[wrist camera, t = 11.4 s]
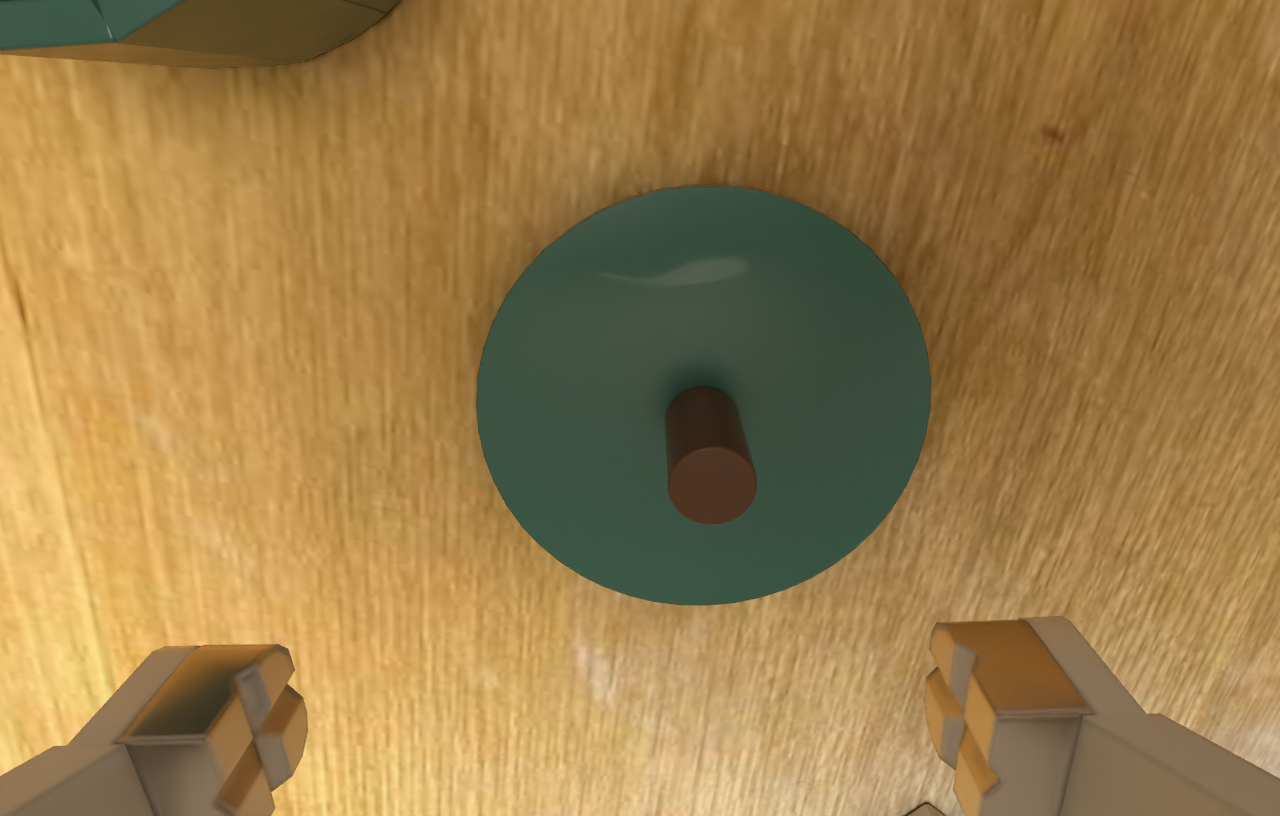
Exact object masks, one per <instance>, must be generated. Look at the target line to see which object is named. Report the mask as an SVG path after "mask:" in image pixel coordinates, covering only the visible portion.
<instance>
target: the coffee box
mask: <svg viewBox="0 0 1280 816" xmlns="http://www.w3.org/2000/svg"><path fill="white" fill-rule="evenodd" d="M908 816H944V815H943V814H941V813H940V812H939V811H938V810H936V809H935V808H933V807H932V806H930V805H929V804H925V805H923V806H921V807H920V808H918V809H917V810H915V811H914V812H913V813H911V814H910V815H908Z"/></svg>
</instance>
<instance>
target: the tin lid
mask: <svg viewBox="0 0 1280 816" xmlns="http://www.w3.org/2000/svg"><path fill="white" fill-rule="evenodd" d="M930 396H931V377H930V369H929V361H928V353H927V349H926V345H925V342H924V338H923V335H922V331H921V327H920V324H919V322H918V320H917V317H916V315H915V313H914V311H913V308H912V306H911V304H910V302H909V299H908V297H907V296H906V294H905V293H904V291H903V290H902V288H901V286H900V285H899V283H898V282H897V280H896V279H895V277H894V275H893V274H892V273H891V271H890V270H889V269H888V268H887V267H886V266H885V264H884V263H883V262H882V261H881V260H880V259H879V258H878V256H877V255H876V254H875V253H874V252H873V251H872V250H871V249H870V248H869V247H868V246H867V245H865V244H864V243H863V242H862V241H861V240H860V239H858V238H857V237H856V236H855V235H854V234H853V233H851V232H850V231H849V230H848V229H846V228H845V227H843V226H842V225H840V224H838V223H837V222H835V221H834V220H832V219H830V218H829V217H827V216H826V215H824V214H822V213H821V212H819V211H817V210H815V209H813V208H811V207H808V206H806V205H804V204H802V203H799V202H797V201H795V200H793V199H790V198H787V197H784V196H780V195H777V194H773V193H770V192H766V191H763V190H760V189H753V188H746V187H739V186H732V185H698V184H693V185H686V186H678V187H670V188H663V189H658V190H655V191H651V192H647V193H643V194H640V195H636V196H632V197H629V198H627V199H624V200H622V201H620V202H617V203H615V204H612V205H610V206H608V207H605V208H603V209H601V210H599V211H597V212H595V213H594V214H592V215H590V216H588V217H587V218H585V219H583V220H582V221H580V222H578V223H577V224H575V225H573V226H572V227H570V228H569V229H568V230H567V231H565V232H564V233H563V234H562V235H560V236H559V237H558V238H557V239H555V240H554V241H553V242H552V243H550V244H549V245H548V246H547V247H546V248H545V249H544V250H543V251H542V252H541V253H540V254H539V255H538V256H537V257H536V258H535V259H534V260H533V261H532V263H531V264H530V265H529V266H528V267H527V268H526V269H525V270H524V272H523V273H522V275H521V276H520V277H519V279H518V280H517V282H516V283H515V284H514V286H513V287H512V289H511V290H510V291H509V293H508V294H507V296H506V298H505V299H504V301H503V303H502V305H501V307H500V309H499V311H498V313H497V315H496V317H495V319H494V320H493V323H492V326H491V328H490V331H489V334H488V337H487V340H486V342H485V345H484V348H483V353H482V358H481V363H480V368H479V373H478V380H477V398H476V408H477V420H478V431H479V435H480V440H481V444H482V449H483V453H484V457H485V460H486V462H487V465H488V468H489V470H490V473H491V476H492V478H493V481H494V483H495V485H496V487H497V489H498V490H499V492H500V494H501V496H502V498H503V500H504V501H505V503H506V505H507V506H508V508H509V509H510V511H511V512H512V513H513V515H514V516H515V517H516V519H517V520H518V522H519V523H520V524H521V526H522V527H523V528H524V529H525V530H526V531H527V532H528V533H529V534H530V535H531V536H532V538H533V539H534V540H535V541H536V542H537V543H538V544H539V545H540V546H541V547H543V548H544V549H545V550H546V551H547V552H549V553H550V554H551V555H552V556H553V557H555V558H556V559H557V560H558V561H559V562H561V563H562V564H564V565H566V566H567V567H569V568H570V569H572V570H573V571H575V572H576V573H578V574H580V575H581V576H583V577H585V578H587V579H589V580H591V581H593V582H595V583H597V584H599V585H601V586H604V587H606V588H609V589H611V590H614V591H617V592H620V593H623V594H626V595H628V596H632V597H636V598H640V599H645V600H649V601H653V602H660V603H668V604H676V605H718V604H728V603H736V602H741V601H746V600H751V599H756V598H760V597H764V596H767V595H770V594H773V593H776V592H779V591H782V590H785V589H788V588H790V587H792V586H794V585H797V584H799V583H801V582H803V581H806V580H808V579H810V578H812V577H814V576H815V575H817V574H819V573H820V572H822V571H824V570H825V569H827V568H829V567H831V566H832V565H834V564H835V563H837V562H838V561H839V560H841V559H842V558H843V557H845V556H846V555H847V554H849V553H850V552H851V551H852V550H854V549H855V548H856V547H857V546H858V545H859V544H860V543H861V542H862V541H864V540H865V539H866V538H867V537H868V536H869V535H870V534H871V533H872V532H873V531H874V530H875V529H876V528H877V526H878V525H879V524H880V523H881V521H882V520H883V519H884V518H885V517H886V515H887V514H888V513H889V512H890V511H891V509H892V508H893V506H894V505H895V503H896V501H897V500H898V498H899V497H900V495H901V494H902V492H903V490H904V489H905V487H906V485H907V483H908V481H909V479H910V477H911V475H912V473H913V470H914V468H915V466H916V464H917V462H918V459H919V455H920V452H921V449H922V446H923V443H924V439H925V436H926V431H927V425H928V419H929V412H930Z"/></svg>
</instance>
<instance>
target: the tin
mask: <svg viewBox="0 0 1280 816" xmlns="http://www.w3.org/2000/svg"><path fill="white" fill-rule="evenodd" d="M399 1H400V0H0V54H3V55H18V56H33V57H47V58H62V59H77V60H92V61H106V62H121V63H136V64H151V65H166V66H180V67H195V68H210V69H214V68H229V67H243V66H271V65H278V64H287V63H301V62H303V61H308V60H310V59H311V58H313V57H315V56H317V55H320V54H323V53H326V52H328V51H330V50H332V49H334V48H336V47H338V46H340V45H342V44H344V43H346V42H348V41H350V40H352V39H354V38H355V37H357V36H358V35H359V34H361V33H362V32H364V31H365V30H367V29H368V28H370V27H371V26H372V25H374V24H375V23H377V22H378V21H379V20H380V19H381V18H382V17H383V16H384V15H385V14H386V13H387V12H388V11H389V10H390V9H391V8H393V7H394V6H395V5H396V4H397V3H398V2H399Z"/></svg>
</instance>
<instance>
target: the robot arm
mask: <svg viewBox="0 0 1280 816" xmlns="http://www.w3.org/2000/svg"><path fill="white" fill-rule="evenodd" d="M929 649H930V651H931V653H932V655H933V657H934V659H935V661H936V663H937V665H938V666H937V667H936V668H935V669H934V670H933V671H932V672H931V673H930V674H929V675H928V676H927V677H926V684H925V696H924V702H925V711H926V720H927V725H928V729H929V732H930V736H931V739H932V742H933V744H934V747H935V749H936V752H937V754H938V756H939V758H940V759H941V760H943V761H944V762H945V763H946V764H948V765H949V766H950V767H952V768H953V769H954V770H956V772H955V780H954V787H953V791H954V793H955V795H956V797H957V800H958V802H959V804H960V806H961V808H962V811H963V813H964V815H965V816H1280V779H1279V778H1277V777H1276V776H1274V775H1272V774H1270V773H1268V772H1266V771H1265V770H1263V769H1261V768H1259V767H1257V766H1255V765H1253V764H1252V763H1250V762H1248V761H1246V760H1244V759H1242V758H1241V757H1239V756H1237V755H1235V754H1233V753H1231V752H1230V751H1228V750H1226V749H1224V748H1222V747H1220V746H1219V745H1217V744H1215V743H1213V742H1211V741H1209V740H1208V739H1206V738H1204V737H1202V736H1200V735H1198V734H1197V733H1195V732H1193V731H1191V730H1189V729H1187V728H1186V727H1184V726H1182V725H1180V724H1178V723H1176V722H1175V721H1173V720H1171V719H1169V718H1167V717H1165V716H1164V715H1162V714H1146V713H1145V711H1144V710H1143V709H1142V708H1141V707H1140V705H1139V704H1138V703H1137V702H1136V700H1135V699H1134V698H1133V697H1132V696H1131V694H1130V693H1129V692H1128V691H1127V690H1126V688H1125V687H1124V686H1123V685H1122V683H1121V682H1120V681H1119V680H1118V679H1117V677H1116V676H1115V675H1114V674H1113V672H1112V671H1111V670H1110V669H1109V668H1108V666H1107V665H1106V664H1105V663H1104V661H1103V660H1102V659H1101V658H1100V657H1099V655H1098V654H1097V653H1096V652H1095V650H1094V649H1093V648H1092V647H1091V646H1090V644H1089V643H1088V642H1087V641H1086V639H1085V638H1084V637H1083V636H1082V635H1081V633H1080V632H1079V631H1078V630H1077V629H1076V627H1075V626H1074V625H1073V624H1072V622H1071V621H1069V620H1068V619H1066V618H1064V617H1062V616H1050V617H1032V618H1019V619H1018V620H991V621H966V622H940V623H936V624H935V626H934V628H933V631H932V633H931V641H930V648H929ZM294 671H295V668H294V665H293V662H292V659H291V656H290V653H289V650H288V649H287V648H285V647H283V646H281V645H279V644H263V645H203V646H165V647H163V648H160V649H158V650H155V651H153V652H152V653H151V654H150V655H149V656H148V657H147V658H146V659H145V660H144V661H143V663H142V664H141V665H140V666H139V667H138V668H137V669H136V670H135V671H134V672H133V674H132V675H131V676H130V677H129V678H128V679H127V680H126V681H125V682H124V683H123V685H122V686H121V687H120V688H119V689H118V690H117V691H116V692H115V693H114V694H113V695H112V697H111V698H110V699H109V700H108V701H107V702H106V703H105V704H104V705H103V706H102V708H101V709H100V710H99V711H98V712H97V713H96V714H95V715H94V716H93V717H92V718H91V720H90V721H89V722H88V723H87V724H86V725H85V726H84V727H83V728H82V729H81V731H80V732H79V733H78V734H77V735H76V736H75V737H74V738H73V739H72V740H71V741H70V743H69V744H68V745H67V746H53V747H51V748H50V749H48V750H46V751H44V752H42V753H41V754H39V755H37V756H35V757H34V758H32V759H30V760H28V761H27V762H25V763H23V764H21V765H19V766H18V767H16V768H14V769H12V770H11V771H9V772H7V773H5V774H3V775H2V776H0V816H271V815H272V813H273V811H274V810H275V804H274V800H273V797H272V793H271V792H272V791H274V790H275V789H276V788H277V787H279V786H280V785H281V784H283V783H284V782H285V781H286V780H288V779H289V778H290V777H292V776H293V774H294V772H295V770H296V768H297V766H298V764H299V762H300V760H301V758H302V756H303V751H304V747H305V742H306V738H307V733H308V722H307V710H306V707H305V703H304V699H303V697H302V696H301V695H300V694H298V693H297V692H296V691H295V690H294V689H293V688H291V687H290V686H289V685H288V684H287V683H288V681H289V679H290V678H291V676H292V674H293V672H294Z"/></svg>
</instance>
